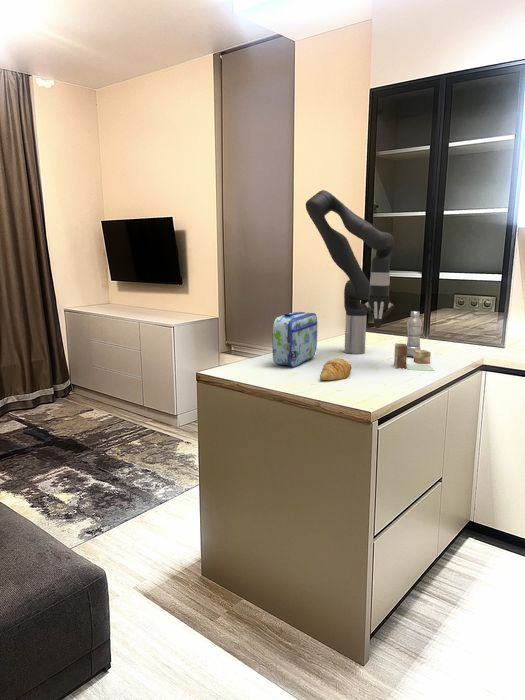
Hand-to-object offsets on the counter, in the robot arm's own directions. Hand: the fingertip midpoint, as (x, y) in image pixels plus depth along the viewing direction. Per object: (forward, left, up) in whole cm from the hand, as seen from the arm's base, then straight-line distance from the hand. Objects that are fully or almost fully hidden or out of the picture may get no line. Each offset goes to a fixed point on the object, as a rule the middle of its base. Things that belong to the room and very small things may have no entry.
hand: (377, 327), depth 208 cm
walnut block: (+10, 0, -16) cm, 18 cm away
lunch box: (-33, +2, -16) cm, 36 cm away
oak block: (+20, +10, -16) cm, 27 cm away
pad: (+17, 0, -16) cm, 23 cm away
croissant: (-16, -20, -16) cm, 30 cm away
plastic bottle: (+18, +22, -16) cm, 32 cm away
